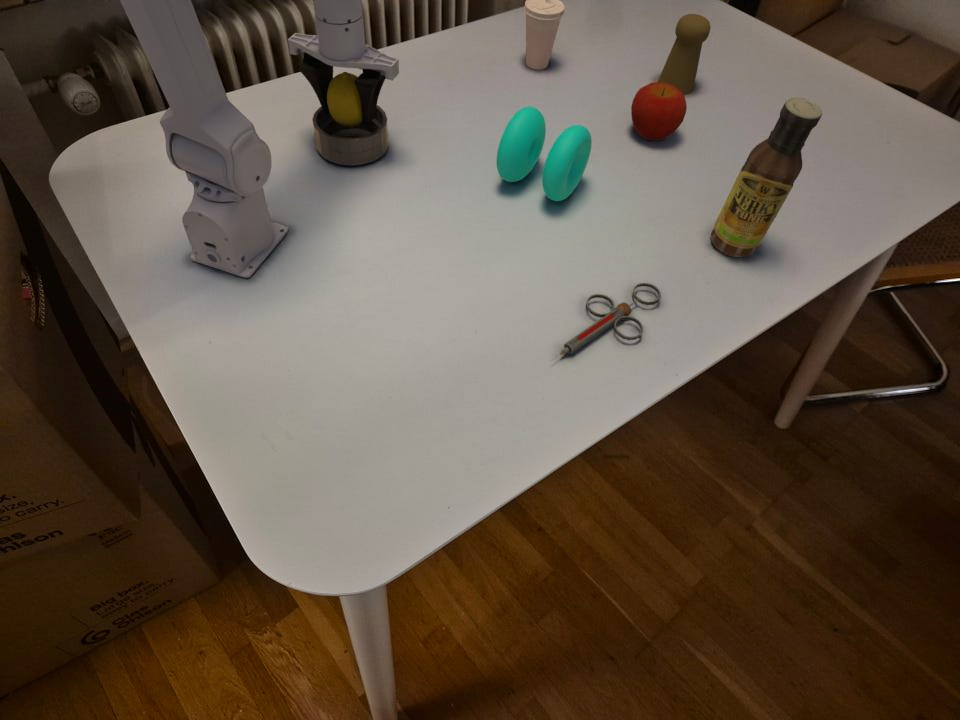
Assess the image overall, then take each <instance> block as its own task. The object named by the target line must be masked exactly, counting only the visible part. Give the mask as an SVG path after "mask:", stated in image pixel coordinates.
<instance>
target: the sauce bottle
mask: <svg viewBox="0 0 960 720" xmlns="http://www.w3.org/2000/svg"><path fill="white" fill-rule="evenodd" d="M822 116H823V109H822V108H821V107H820V105H818V104H817V103H816V102H815V101H812V100H810V99H807V98H803V97H792V98H788V99H787V100H786V101H785V102H784V104H783V106H782V108H781V109H780V111H779V117H778V119H777V121H776V123H775V125H774V127H773V129H772V130H771V131H770V133H769V135H768V137H767V138H766V139H764V140H763V141H761V142H760V143H758V144H756V145H755V146H754V147H753V148H752V149H751V151H750V152H749V154H748V156H747V158H746V161H745V162H744V164H743V165H742V167H741V168H740V170H739V172H738V174H737V177H736V178H735V181H734V183H733V185H732V187H731V189H730V191H729V193H728V195H727V198H726V199H725V202H724V204H723V206H722V208H721V210H720V212H719V214H718V215H717V218H716V220H715V222H714V227H713V229H712V230H711V232H710V240H711V243H712V245H713V246H714V247H715V248H716V249H717V250H719V251H720V252H722V253H724V254H725V255H727V256H729V257H735V258H747V257H750V256H751V255H752V254H754V252H755V251H756V250H757V249H758V246H759V245H760V244H762V241H763V239H764V238H765V236H766V234H767V233H768V231H769V229H770V228H771V226H772V224H773V223H774V221H775V219H776V218H777V215H778V214H779V212H780V211H781V209H782V206H783V205H784V203H785V201H786V200H787V198H788V196H789V195H790V193H791V191H792V189H793V187H794V183H795V181H797V178H798V177H799V175H800V173H801V172H802V169H803V157H802V156H803V155H802V150H803V148H804V147H805V144H806V142H807V139H808V138H809V136H810V134H811V132H812V130H813V129H814V128H815V127H817V125H818V124H819V122H820V120H821V118H822Z"/></svg>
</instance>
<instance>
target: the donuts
mask: <svg viewBox="0 0 960 720" xmlns="http://www.w3.org/2000/svg"><path fill="white" fill-rule="evenodd" d="M546 130H547V128H546V120H545V117H544V115H543V114H542V112H541V111H540V110H539V109H538V108H536V107H534V106H524V107H522V108H521V109H519V110H518V111H516V112H515V113H514V114H513V115H512V116H511V118H510V119H509V121H508V122H507V124H506V127H505V128H504V130H503V133H502V134H501V137H500V141H499V143H498V148H497V151H496V152H497V153H496V169H497V173H498V174H499V177H500V178H501V179H503V180H504V181H506V182H508V183H515V182H519V181H521V180H523V179H525V177H527V176H528V175H529V173H531V172H532V170H533V168H534V167H535V166H536V164H537V162H538V160H539V158H540V156H541V154H542V151H543V149H544V145H545V140H546V133H547V131H546ZM591 151H592V135H591V132H590V131H589V129H588V128H587V127H585V126H584V125H582V124H581V125H580V124H573V125H571V126H568V127H567V128H565V129H564V130H563V131H562V132H560V133H559V135H558V136H557V137H556V139H555V141H554V142H553V144H552V145H551V147H550V149H549V152H548V154H547V156H546V159H545V162H544V166H543V169H542V176H541V184H542V190H543V192H544V194H545V196H546V197H547V198H548V199H549V200H550V201H554V202H561V201H564V200H566V199H567V198H568V197H569V196H571V195H572V194H573V192H574V191H575V189H576V188H577V186H578V184H579V183H580V181H581V179H582V177H583V175H584V173H585V171H586V168H587V164H588V163H589V160H590V155H591Z"/></svg>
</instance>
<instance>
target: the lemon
mask: <svg viewBox="0 0 960 720" xmlns="http://www.w3.org/2000/svg"><path fill="white" fill-rule="evenodd" d="M357 77H358V76H357V75H355V74H353V73H351V72H347V71H343V72H341V73H338V74H336V75H335V76H333V79H332V80H331V82H330V83H329V86H328V91H327V104H328V108H329V111H330V114H331V115H332V117H333V118H334V120H335V121H336V122H338V123H339V124H341V125H343V126H346V127H349V128H353V127H354V126H357V125H359V124H361V123H362V122H363V119H362V109H361V101H360V97H359V93H358V90H357V88H356V85H355V82H354V81H355V80H356V79H357Z"/></svg>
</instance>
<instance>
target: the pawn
mask: <svg viewBox="0 0 960 720" xmlns="http://www.w3.org/2000/svg"><path fill="white" fill-rule="evenodd" d="M674 33H675V40H674V43H673V45H672V47H671V50H670V52H669V54H668V56H667V59H666V61H665V63H664V65H663V68H662V70H661V73H660V75H659V77H658V80H657V82H662V83H667V84H670V85H672V86H674V87H676V88H677V89H679V90H680V91H681V92H682V94H683V95H684V96H687V95H689V94H691V93H692V92H693V91H694V89H695V83H696V79H697V74H698V68H699V62H700V59H701V58H700V57H701V52H702V47H703V43H704V42H706V40H707V39H708V38H709V35H710V33H711V22H710V20H709V19H708V18H707V17H706V16H703V15H700V14H697V13H688V14H685V15H683V16H681V17H680V18H679V19H678V21H677V23H676V26H675V32H674Z"/></svg>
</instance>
